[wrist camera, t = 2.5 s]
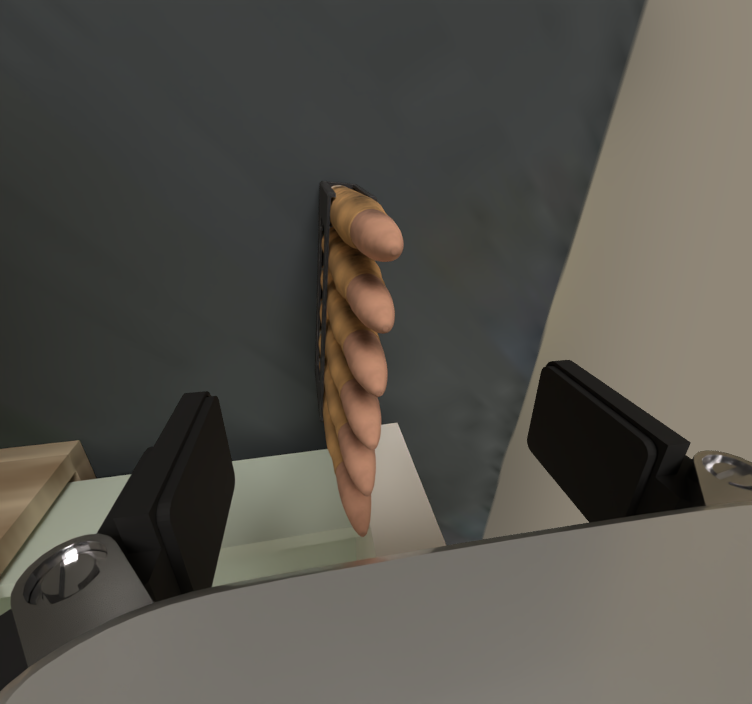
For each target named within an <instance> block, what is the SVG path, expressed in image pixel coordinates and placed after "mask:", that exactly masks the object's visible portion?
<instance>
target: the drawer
mask: <svg viewBox="0 0 752 704" xmlns="http://www.w3.org/2000/svg"><path fill="white" fill-rule="evenodd" d="M375 456H376V474H375V483H374V488H373V491H372V493H371V517H370V524H369V528H368V532H367V534H366V536H364V537H361V536H359V535H358V534H357V532H356V531H355V530H354V528H353V527H352V525H351V523H350V521H349V519H348V517H347V515H346V513H345V510H344V507H343V505H342V502H341V498H340V494H339V491H338V485H337V479H336V475H335V472H334V467H333V461H332V458H331V456H330V454H329V451H328V449H323V450H316V451H308V452H300V453H292V454H285V455H277V456H269V457H261V458H254V459H246V460H238V461H232V464H233V468H234V473H235V488H234V493H233V497H232V501H231V506H230V510H229V514H228V519H227V523H226V527H225V532H224V536H223V541H222V545H221V549H220V554H219V558H218V562H217V567H216V571H215V575H214V580H213V584H212V587H215V586H219V585H224V584H228V583H233V582H238V581H244V580H249V579H255V578H260V577H265V576H271V575H276V574H282V573H287V572H293V571H298V570H303V569H309V568H315V567H320V566H326V565H332V564H338V563H344V562H350V561H356V560H362V559H368V558H374V557H380V556H386V555H392V554H398V553H404V552H410V551H416V550H422V549H428V548H434V547H440V546H446V544H445V541H444V539H443V536H442V534H441V531H440V529H439V526H438V524H437V521H436V519H435V516H434V514H433V511H432V509H431V506H430V503H429V501H428V498H427V496H426V493H425V491H424V488H423V486H422V483H421V481H420V478H419V476H418V473H417V471H416V468H415V466H414V463H413V461H412V458H411V456H410V453H409V451H408V448H407V446H406V443H405V441H404V438H403V436H402V433H401V431H400V428H399V426H398V423H391V424H383V425H381V435H380V440H379V443H378V446H377V448H376V449H375ZM130 476H131V474H130V475H122V476H114V477H107V478H99V479H91V480H83V481H76V482H68V483H67V484H66V485H65V487H64V488H63V490H62V491H61V492H60V494H59V495H58V497H57V498H56V499H55V501H54V502H53V503H52V505H51V506H50V508H49V509H48V510H47V512H46V513H45V514H44V516H43V517H42V519H41V520H40V521H39V523H38V524H37V526H36V527H35V528H34V530H33V531H32V532H31V534H30V535H29V537H28V538H27V539H26V541H25V542H24V543H23V545H22V546H21V548H20V549H19V550H18V552H17V553H16V554H15V556H14V557H13V559H12V560H11V561H10V563H9V564H8V566H7V567H6V568H5V570H4V571H3V572H2V574H1V575H0V615H2V614H3V613H5V612H6V611H8V610H9V609H11V605H10V602H11V592H12V590H13V588H14V586H15V584H16V581H17V580H18V579H19V577H20V576H21V575H22V574H23V573H24V571H25V570H26V569H27V568H28V567H29V566H30V565H31V564H32V563H33V562H35V561H36V560H37V559H38V558H39V557H40V556H42V555H43V554H45V553H46V552H48V551H49V550H51V549H52V548H54V547H55V546H57V545H59V544H62V543H64V542H66V541H68V540H70V539H73V538H76V537H80V536H83V535H87V534H96V533H97V532H98V530H99V528H100V527H101V525H102V523H103V522H104V520H105V518H106V516H107V515H108V513H109V511H110V510H111V508H112V506H113V505H114V503H115V501H116V499H117V498H118V496H119V494H120V493H121V491H122V489H123V488H124V486H125V484H126V482H127V481H128V479H129V477H130Z"/></svg>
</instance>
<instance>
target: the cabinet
mask: <svg viewBox="0 0 752 704" xmlns="http://www.w3.org/2000/svg"><path fill="white" fill-rule="evenodd" d="M91 479H97V478H96V476H95V474H94V472H93V469H92V467H91V465H90V463H89V460H88V458H87V456H86V454H85V452H84V449H83V447H82V445H81V443H80V440H76V441H67V442H58V443H50V444H41V445H32V446H23V447H14V448H5V449H0V575H1V574H2V572H3V571H4V570H5V568H6V567H7V566H8V564H9V563H10V561H11V560H12V559H13V557H14V556H15V554H16V553H17V552H18V550H19V549H20V548H21V546H22V545H23V543H24V542H25V541H26V539H27V538H28V537H29V535H30V534H31V532H32V531H33V530H34V528H35V527H36V526H37V524H38V523H39V521H40V520H41V519H42V517H43V516H44V514H45V513H46V512H47V510H48V509H49V508H50V506H51V505H52V503H53V502H54V501H55V499H56V498H57V497H58V495H59V494H60V492H61V491H62V490H63V488H64V487H65V485H66V484H67V483H68V482H76V481H83V480H91Z"/></svg>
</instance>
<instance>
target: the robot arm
mask: <svg viewBox="0 0 752 704" xmlns="http://www.w3.org/2000/svg"><path fill="white" fill-rule="evenodd" d="M527 443H528V447H529V449H530V451H531V452H532V453H533V455H534V456H535V457H536V458H537V459H538V461H539V462H540V463H541V464H542V465H543V467H544V468H545V469H546V470H547V472H548V473H549V474H550V475H551V476H552V477H553V479H554V480H555V481H556V482H557V484H558V485H559V486H560V487H561V489H562V490H563V491H564V492H565V493H566V494H567V496H568V497H569V498H570V499H571V501H572V502H573V503H574V504H575V505H576V507H577V508H578V509H579V510H580V512H581V513H582V514H583V515H584V516H585V518H586V519H587V520H588V521H589V523H584V524H578V525H571V526H565V527H558V528H552V529H546V530H540V531H533V532H527V533H521V534H515V535H509V536H503V537H496V538H490V539H483V540H477V541H471V542H465V543H459V544H453V545H446V546H440V547H434V548H428V549H422V550H416V551H410V552H404V553H398V554H392V555H386V556H380V557H374V558H368V559H362V560H356V561H350V562H344V563H338V564H332V565H326V566H320V567H315V568H309V569H303V570H298V571H293V572H287V573H282V574H276V575H271V576H265V577H260V578H255V579H249V580H244V581H238V582H233V583H228V584H224V585H219V586H215V587H212V584H213V580H214V575H215V571H216V567H217V562H218V558H219V554H220V549H221V545H222V541H223V536H224V532H225V527H226V523H227V519H228V514H229V510H230V506H231V501H232V497H233V493H234V488H235V473H234V468H233V464H232V459H231V455H230V450H229V445H228V441H227V436H226V432H225V427H224V422H223V418H222V413H221V409H220V404H219V400H218V397H217V396H211V395H210V393H209V392H208V391H206V392H195V393H185V394H184V395H183V396H182V398H181V399H180V401H179V403H178V405H177V406H176V408H175V410H174V412H173V414H172V415H171V417H170V419H169V421H168V422H167V424H166V426H165V428H164V429H163V431H162V433H161V435H160V437H159V438H158V440H157V442H156V444H155V445H154V447H150V448H148V449H147V450H146V451H145V452H144V454H143V455H142V457H141V459H140V460H139V462H138V464H137V465H136V467H135V469H134V471H133V472H132V474H131V476H130V477H129V479H128V481H127V482H126V484H125V486H124V488H123V489H122V491H121V493H120V494H119V496H118V498H117V499H116V501H115V503H114V505H113V506H112V508H111V510H110V511H109V513H108V515H107V516H106V518H105V520H104V522H103V523H102V525H101V527H100V528H99V530H98V532H97V533H96V534H87V535H83V536H80V537H76V538H73V539H70V540H68V541H66V542H64V543H62V544H59V545H57V546H55V547H54V548H52V549H51V550H49V551H48V552H46V553H45V554H43V555H42V556H40V557H39V558H38V559H37V560H36V561H35V562H33V563H32V564H31V565H30V566H29V567H28V568H27V569H26V570H25V571H24V573H23V574H22V575H21V576H20V577H19V579H18V580H17V581H16V584H15V586H14V588H13V590H12V592H11V602H10V605H11V609H9V610H8V611H6V612H5V613H3V614H2V615H0V704H752V462H750V461H747V460H745V459H743V458H741V457H738V456H735V455H732V454H729V453H725V452H719V451H709V450H706V451H700V452H698V453H696V454H695V455H694V457H693V459H690V458H689V457H688V456H686V455H685V454H686V452H687V450H688V448H689V445H690V442H689V441H687V440H686V439H685V438H683V437H682V436H680V435H679V434H677V433H676V432H674V431H673V430H671V429H670V428H668V427H667V426H666V425H664V424H663V423H661V422H660V421H658V420H657V419H655V418H654V417H653V416H651V415H650V414H648V413H646V412H645V411H644V410H642V409H641V408H639V407H638V406H636V405H635V404H634V403H632V402H631V401H629V400H628V399H626V398H625V397H623V396H622V395H621V394H619V393H618V392H616V391H615V390H613V389H612V388H610V387H609V386H607V385H606V384H605V383H603V382H602V381H600V380H599V379H597V378H596V377H594V376H593V375H591V374H590V373H588V372H587V371H586V370H584V369H583V368H581V367H580V366H578V365H577V364H575V363H574V362H572V361H570V360H562V361H552V362H549V363H548V364H547V365H546V367H544V368H543V369H542V371H541V376H540V380H539V385H538V389H537V394H536V399H535V404H534V409H533V413H532V418H531V423H530V428H529V432H528V438H527Z"/></svg>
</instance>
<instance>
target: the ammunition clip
mask: <svg viewBox="0 0 752 704" xmlns="http://www.w3.org/2000/svg"><path fill="white" fill-rule="evenodd" d="M402 251H403V238H402V234H401V231H400V229H399V228H398V226H397V225H396V223H395V222H394V221H393V220H392V219H391V218H390V217H389V216H387V214H386V213H385V211H384V210H383V208H382V207H381V205H380V204H379V203H377V198H376V197H375V196H373V195H372V194H370V193H369V192H367V191H366V190H364V189H363V188H361V187H360V186H358V185H357V184H348V183H338V182H327V181H321V182H320V196H319V236H318V276H317V316H316V356H315V376H316V386H317V395H318V405H319V415H320V421H321V422H324V427H325V435H326V443H327V449H328V451H329V454H330V456H331V458H332V461H333V467H334V472H335V475H336V479H337V485H338V491H339V494H340V498H341V502H342V505H343V507H344V510H345V513H346V515H347V517H348V519H349V521H350V523H351V525H352V527H353V528H354V530H355V531H356V532H357V534H358V535H359V536H361V537H364V536H366V534H367V532H368V528H369V524H370V517H371V493H372V491H373V488H374V483H375V474H376V456H375V449H376V448H377V446H378V443H379V440H380V435H381V412H380V406H379V401H378V398H377V397H380V396H382V395H383V393H384V391H385V389H386V385H387V363H386V359H385V355H384V352H383V348H382V346H381V344H380V340H379V337H378V334H377V333H388V332H389V331H390V330H391V329H392V327H393V324H394V318H395V311H394V305H393V301H392V298H391V295H390V293H389V291H388V289H387V288H386V286H385V283H384V282H383V280H382V276H381V272H380V268H379V267H378V265H377V264H376V262H375V261H374V260H376V261H381V262H388V261H393V260H395V259H397V258H398V257H399V256H400V255H401V253H402Z"/></svg>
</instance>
